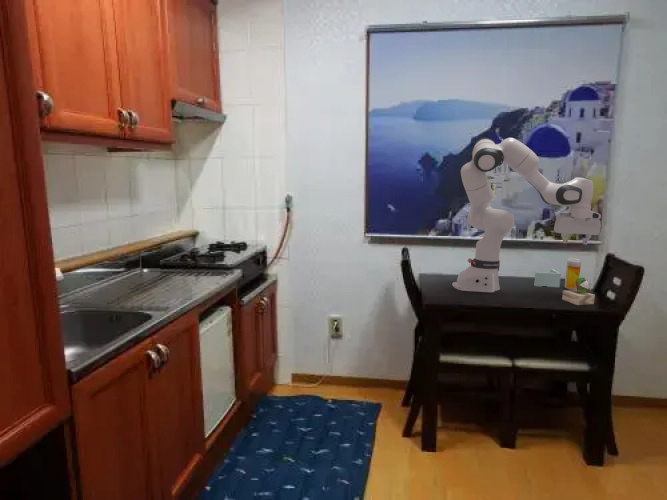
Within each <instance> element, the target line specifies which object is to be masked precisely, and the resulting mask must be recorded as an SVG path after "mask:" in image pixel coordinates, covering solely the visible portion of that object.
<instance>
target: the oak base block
mask: <svg viewBox="0 0 667 500" xmlns="http://www.w3.org/2000/svg"><path fill="white" fill-rule="evenodd" d="M595 298H596V297H595V294H593V293H590V292H588V291H587V293H579V290H578V291H577V290H570V289H566V290H562V297H561V300H563V301H565V302H568V303H571V304H573V305H576V306H582V305H585V306H586V305H594V304H595Z"/></svg>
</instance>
